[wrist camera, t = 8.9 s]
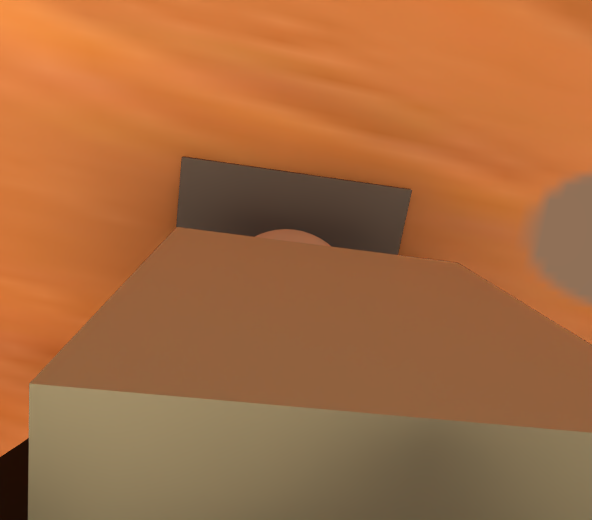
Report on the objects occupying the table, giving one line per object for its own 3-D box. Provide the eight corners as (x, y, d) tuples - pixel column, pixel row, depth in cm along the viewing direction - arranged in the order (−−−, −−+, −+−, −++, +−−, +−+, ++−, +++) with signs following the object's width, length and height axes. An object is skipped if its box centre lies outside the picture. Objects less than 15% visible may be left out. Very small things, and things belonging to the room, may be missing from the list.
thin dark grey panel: (410, 189, 17) (411, 189, 16) (367, 385, 19) (368, 388, 19) (183, 156, 16) (181, 157, 16) (166, 366, 18) (165, 369, 18)
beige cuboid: (393, 532, 12) (538, 952, 6) (151, 518, 11) (22, 976, 5) (457, 262, 10) (758, 447, 4) (177, 226, 9) (29, 383, 3)
